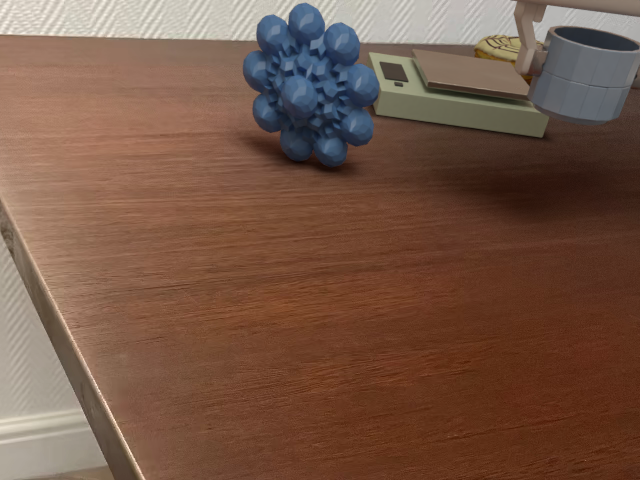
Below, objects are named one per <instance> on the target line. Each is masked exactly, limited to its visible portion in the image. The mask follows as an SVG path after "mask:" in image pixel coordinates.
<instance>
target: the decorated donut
mask: <svg viewBox="0 0 640 480" xmlns="http://www.w3.org/2000/svg"><path fill="white" fill-rule="evenodd" d="M536 44H537V45H542V46H543V44H544V41H541V40H537V39H536ZM520 46H521V42H520V40H519V36H513V35H512V36H510V35H505V34H492V35H486V36H483V37H482V38H481V39H480V40H479V41H478V42H477V43H476V44H475V46H474V47H473V52H474V57H475V58H482V59H489V60H496V61H503V62H510V63H511V64H512V66H513V67H514V68H515V63H516V59H517V56H518V53H519V50H520ZM521 77H522V78H523V79H524V80H525V82H526V83H527V84H528V85H529V86H530V85H531V81H532V78H533V76H526V75H525V76H524V75H521Z"/></svg>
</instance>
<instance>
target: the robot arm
mask: <svg viewBox="0 0 640 480" xmlns="http://www.w3.org/2000/svg"><path fill="white" fill-rule="evenodd" d="M511 1H512V2H516V3H515V8H514V11H513V17H514V22H515V26H516V30H517V34H518V37H519V40H520V42H521V46H520V50H519V53H518V56H517V59H516V63H515V71H516V72H517V73H518V74H519V75H524V76H525V75H526V76H535V77H540V75H541V74H542V71H543V66H542V65H543V64H544V63H545V62H546V59H547V56H548V53H549V52H548V51H547V50H546V49H544V47H543V46H542V45H537V44H536V40H537V39H536V33H535V28H534V23H539V24H540V23H541V22H543V19H544V16H545V13H546V10H547V7H548V6H549V7H551V6H552V7H559V8H565V9H573V10H581V11H589V12H598V13H605V14H612V15H618V16H619V15H620V16H627V17H635V18H640V0H511ZM533 22H534V23H533ZM630 90H636V91H640V65H639V68H638V70H637V73H636V75H635V78H634V80H633V83H632V85H631V88H630Z"/></svg>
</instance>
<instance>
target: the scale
mask: <svg viewBox="0 0 640 480" xmlns="http://www.w3.org/2000/svg"><path fill="white" fill-rule="evenodd" d="M365 66H367V67H369V68H371V69H372V70H373V71H374V73H375V74H376V76H377V78H378V81H379V83H380V86H379V93H378V99H377V100H376V101H375V102H374V103H373V109H374V113H375V115H376V116H382V117H388V118H389V117H390V118H397V119H404V120H410V121H419V122H426V123H432V124H433V123H434V124H439V125H440V124H442V125H447V126H448V125H449V126H455V127H463V128H470V129H477V130H484V131H491V132H498V133H506V134H512V135H521V136H528V137H535V138H544V134H545V132H546V128H547V126H548V123H549V120H550V118H551V117H549V116H547V115H544V114H543V113H541V112H539V111H538V110H536V109H535V108H534V106H533V103H532V102H530V101H523V100H516V99H508V98H501V97H494V96H487V95H480V94H473V93H466V92H459V91H451V90H444V89H437V88H430V87H427V86H426V84H425V82H424V80H423V78H422V76H421V74H420V71H419V69H418V67H417V65H416V63H415V61H414V59H413V57H407V56H400V55H394V54H388V53H387V54H386V53H379V52H373V51H368V54H367V59H366V63H365Z"/></svg>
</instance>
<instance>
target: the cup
mask: <svg viewBox="0 0 640 480" xmlns="http://www.w3.org/2000/svg"><path fill="white" fill-rule="evenodd" d="M543 42H544V44H543V47H544V49H546V50H547V51H548V52H549V53H548V56H547V59H546V62H545V63H544V64H543V65H542V66H543V71H542V74H541V75H540V77H535V76H533V78H532V81H531V85H529V87H530V88H529V91H528V94H527V98H528V99H529V100H530V101H531V102H532V103H533V106H534V108H535V109H536V110H538V111H539V112H541V113H543V114H544V115H547V116H549V117H550V118H552V119H555V120H558V121H561V122H565V123H569V124H573V125H574V124H575V125H580V126H601V125H605V124H607V123H608V122H610V121H613V120H616V119H619V117H620V115H621V113H622V110H623V108H624V105H625V103H626V100H627V98H628V95H629V93H630V90H631V89H630V88H631V85H632V83H633V80H634V78H635V75H636V73H637V70H638V68H639V65H640V42H639V41H637V40H635V39H632V38H630V37H628V36H624V35H622V34H618V33H614V32H611V31H606V30H602V29H597V28H592V27H585V26H579V25H555V26H550V27H549V28H548V30H547V32H546V35H545V37H544V41H543Z"/></svg>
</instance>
